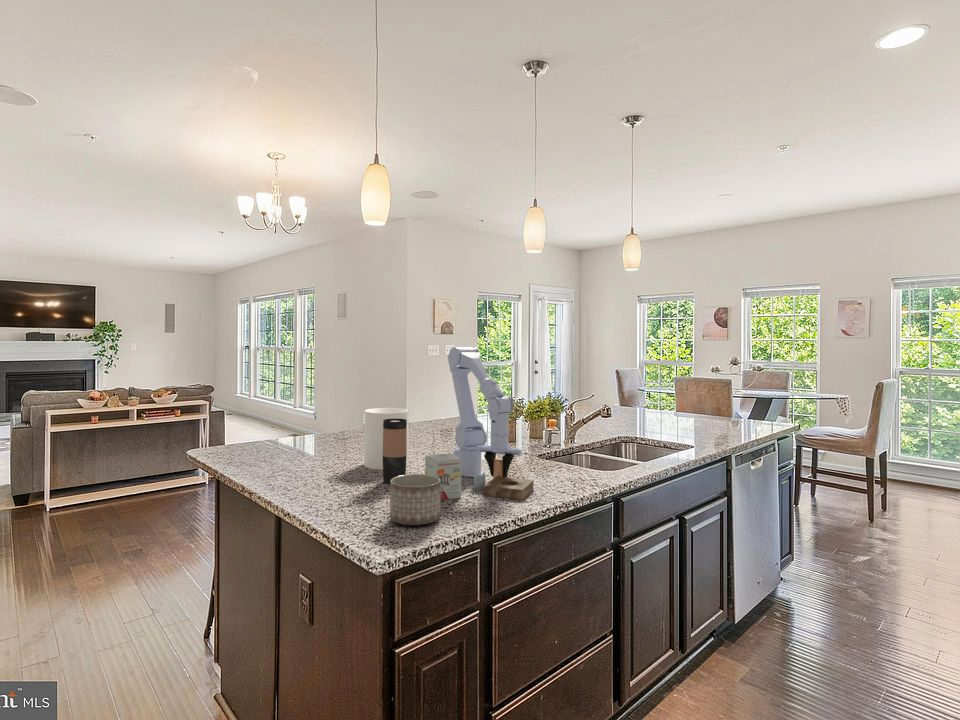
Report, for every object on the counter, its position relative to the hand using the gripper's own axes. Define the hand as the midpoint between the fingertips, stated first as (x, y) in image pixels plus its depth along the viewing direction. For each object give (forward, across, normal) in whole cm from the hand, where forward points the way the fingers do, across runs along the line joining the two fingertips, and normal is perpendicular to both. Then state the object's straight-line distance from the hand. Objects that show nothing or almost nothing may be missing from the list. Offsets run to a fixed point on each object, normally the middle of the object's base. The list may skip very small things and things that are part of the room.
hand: (498, 476), depth 173 cm
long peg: (+3, 0, 0) cm, 3 cm away
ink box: (+3, -11, -19) cm, 22 cm away
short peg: (+3, -4, -7) cm, 9 cm away
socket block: (+3, +6, -8) cm, 10 cm away
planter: (+3, -8, -42) cm, 43 cm away
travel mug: (+3, -32, -11) cm, 34 cm away
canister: (+3, -47, +9) cm, 48 cm away
